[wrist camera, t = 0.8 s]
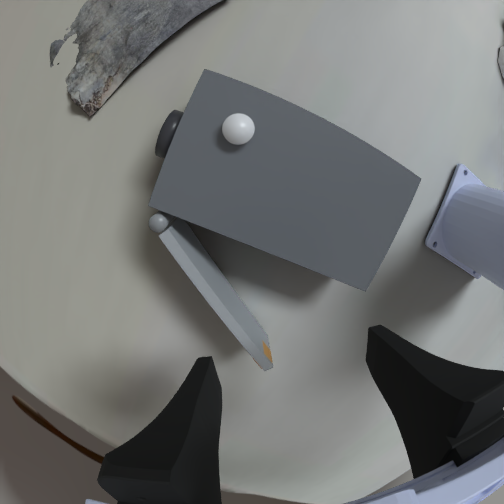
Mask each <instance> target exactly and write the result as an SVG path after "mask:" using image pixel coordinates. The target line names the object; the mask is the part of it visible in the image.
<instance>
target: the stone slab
mask: <svg viewBox="0 0 504 504" xmlns="http://www.w3.org/2000/svg"><path fill="white" fill-rule="evenodd" d="M220 1H222V0H88V1H87V2H86V3H85V4H84V5H83V7H82V8H81V9H80V12H79V14H78V16H77V17H76V19H75V21H74V22H73V23H72V25H71V27H70V28H71V31H70V32H69V33H68V34H66V35H65V36H64V41H66V40H67V38H69V37H70V36H72V35H73V34H76V33H77V38H76V40H75V41H74V42H73V43H77V44H79V47H78V49H79V53H78V55H77V58H76V63H77V64H76V65H75V66H74V68H73V69H72V71H71V73H70V74H69V75H68V76H67V78H66V83H67V85H68V86H67V88H68V92H69V93H70V95H71V96H70V97H71V99H72V100H73V101H74V102H75V103H76V104H77V105H79V106H80V107H81V108H82V109H83V110H84V111H85V112H86V113H87V114H88V116H90V117H91V116H92V115H93V114H94V113H95V112H96V110H97V109H98V108H100V107H101V106H102V105H103V104H104V102H105V101H106V100H107V99H108V98H109V97H110V95H111V94H112V93H113V92H114V91H115V90H116V89H117V88H118V86H119V85H120V84H121V83H122V82H123V81H124V79H125V78H126V77H127V76H128V74H129V73H130V72H131V71H132V70H133V69H134V68H135V67H137V66H138V65H139V64H141V63H142V62H143V60H144V59H146V58H147V56H148V55H149V54H150V53H151V52H152V51H153V50H154V49H155V48H156V47H157V46H159V45H160V44H161V43H162V42H163V41H165V40H166V39H167V38H168V37H170V36H171V35H172V34H173V33H175V32H176V31H177V30H179V29H180V28H181V27H183V26H184V25H185V24H186V23H187V22H189V21H190V20H191V19H193V18H194V17H196V16H197V15H199V14H200V13H202V12H203V11H205V10H207V9H208V8H210V7H211V6H213V5H215V4H216V3H218V2H220ZM68 29H69V28H67V29H66V30H68ZM64 41H63V40H58V41H57V40H56V41H54V42H53V43H52V44H51V49H50V60H51V65H50V67H52V66H53V60H54V58H55V57H56V55H57V54H58V52H59V50H60V48H61V46H62V45H63V44H64ZM58 64H59V63H58ZM58 64H57V65H58Z"/></svg>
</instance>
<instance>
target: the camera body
mask: <svg viewBox="0 0 504 504" xmlns="http://www.w3.org/2000/svg"><path fill="white" fill-rule="evenodd" d="M155 154H156V156H159V157H162V158H164V159H165V160H164V162H163V165H162V168H161V170H160V173H159V176H158V179H157V181H156V184H155V187H154V190H153V193H152V196H151V199H150V202H149V205H148V206H150V207H153V208H155V209H158V210H160V211H163V212H166V213H168V214H171V215H173V216H176V217H178V218H181V219H183V220H186V221H189V222H191V223H194V224H196V225H199V226H201V227H204V228H206V229H209V230H212V231H214V232H217V233H219V234H222V235H224V236H227V237H229V238H232V239H234V240H237V241H240V242H242V243H245V244H247V245H250V246H252V247H255V248H257V249H260V250H262V251H265V252H267V253H270V254H272V255H275V256H277V257H280V258H283V259H285V260H288V261H290V262H293V263H295V264H298V265H300V266H303V267H305V268H308V269H310V270H313V271H315V272H318V273H320V274H323V275H325V276H328V277H330V278H333V279H335V280H338V281H340V282H343V283H345V284H348V285H350V286H353V287H355V288H358V289H360V290H363V291H365V292H366V290H367V288H368V287H369V285H370V283H371V281H372V279H373V278H374V276H375V274H376V272H377V270H378V269H379V267H380V265H381V263H382V261H383V259H384V257H385V255H386V254H387V252H388V250H389V248H390V246H391V244H392V242H393V240H394V238H395V236H396V234H397V232H398V230H399V228H400V226H401V223H402V221H403V219H404V217H405V215H406V213H407V211H408V208H409V206H410V204H411V202H412V200H413V197H414V195H415V193H416V190H417V188H418V186H419V183H420V181H421V178H420V177H418V176H417V175H415V174H414V173H413V172H411V171H410V170H408V169H407V168H405V167H404V166H402V165H401V164H399V163H398V162H396V161H395V160H393V159H392V158H390V157H389V156H387V155H386V154H384V153H383V152H381V151H379V150H378V149H376V148H374V147H373V146H371V145H370V144H368V143H366V142H365V141H363V140H361V139H359V138H358V137H356V136H354V135H353V134H351V133H349V132H347V131H346V130H344V129H342V128H340V127H338V126H336V125H335V124H333V123H331V122H329V121H327V120H325V119H323V118H321V117H319V116H317V115H315V114H313V113H311V112H309V111H307V110H305V109H303V108H301V107H299V106H297V105H295V104H293V103H290V102H288V101H286V100H284V99H282V98H279V97H277V96H275V95H273V94H270V93H268V92H266V91H263V90H261V89H258V88H256V87H253V86H251V85H248V84H246V83H243V82H241V81H238V80H235V79H233V78H230V77H227V76H224V75H221V74H219V73H216V72H213V71H210V70H207V69H204V71H203V73H202V75H201V77H200V79H199V81H198V83H197V85H196V87H195V89H194V92H193V94H192V96H191V98H190V100H189V102H188V105H187V107H186V109H185V111H184V113H183V112H180V111H177V110H173V111H172V112H171V113H170V114H169V116H168V117H167V119H166V120H165V122H164V124H163V126H162V128H161V131H160V133H159V136H158V139H157V143H156V148H155Z"/></svg>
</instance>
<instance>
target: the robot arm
mask: <svg viewBox="0 0 504 504" xmlns="http://www.w3.org/2000/svg"><path fill="white" fill-rule="evenodd" d="M464 171H465V174H464ZM434 242H435V244H434V246H433V243H434ZM425 244H426V246H427V247H429V248H430V249H432V250H434V251H435V252H437V253H438V254H440V255H442V256H443V257H445V258H446V259H448V260H449V261H451V262H452V263H454V264H456V265H457V266H459V267H460V268H462V269H463V270H465V271H466V272H468V273H469V274H471V275H472V276H473V277H475V278H476V279H479V278H480V277H481V275H482V276H483V277H485V278H486V279H488V280H490V281H491V282H493V283H494V284H496V285H497V286H499V287H500V288H502V289H503V290H504V191H501V190H498V189H494V188H490V187H486V186H485V185H484V184H483V183H482V182H481V181H480V180H479V179H478V178H477V177H476V176H475V175H474V174H473V173H472V172H471V171H470V170H469V169H468V168H467V167H466V166H465V165H463V164H458V165H457V167H456V169H455V172H454V175H453V177H452V180H451V183H450V185H449V188H448V190H447V193H446V195H445V198H444V200H443V202H442V205H441V207H440V209H439V212H438V214H437V216H436V218H435V221H434V223H433V225H432V227H431V229H430V231H429V233H428V236H427V238H426V240H425ZM473 270H474V271H473ZM366 362H367V365H368V368H369V370H370V373H371V375H372V377H373V379H374V381H375V383H376V385H377V386H378V388H379V390H380V392H381V393H382V395H383V397H384V399H385V401H386V402H387V404H388V406H389V408H390V409H391V411H392V413H393V415H394V417H395V420H396V422H397V425H398V427H399V430H400V433H401V436H402V438H403V441H404V444H405V447H406V451H407V454H408V458H409V461H410V465H411V469H412V473H413V478H414V479H413V480H411V481H409V482H406V483H404V484H401V485H399V486H396V487H393V488H391V489H388V490H385V491H383V492H380V493H377V494H374V495H371V496H368V497H365V498H361V499H358V500H355V501H351V502H348V503H344V504H478V503H479V502H481V501H482V500H484V499H485V498H486V497H487V496H489V495H490V494H492V493H493V492H494V491H496V490H497V489H498V488H500V487H501V486H502V485H504V410H503V407H504V371H500V370H486V369H480V368H474V367H469V366H465V365H461V364H457V363H454V362H451V361H448V360H445V359H443V358H440V357H438V356H435V355H433V354H431V353H429V352H427V351H425V350H423V349H421V348H419V347H417V346H415V345H413V344H412V343H410V342H408V341H406V340H405V339H403V338H401V337H400V336H398V335H397V334H395V333H393V332H392V331H390V330H389V329H387V328H385V327H384V326H382V325H377V326H373V327H369V329H368V342H367V353H366ZM221 414H222V389H221V384H220V381H219V378H218V375H217V372H216V369H215V365H214V362H213V359H212V356H209V357H200V358H198V359H197V360H196V362H195V364H194V366H193V367H192V369H191V371H190V372H189V374H188V376H187V377H186V379H185V381H184V382H183V384H182V385H181V387H180V388H179V390H178V391H177V393H176V394H175V395H174V397H173V398H172V399H171V401H170V402H169V403H168V405H167V406H166V407H165V408H164V409H163V411H162V412H161V413H160V414H159V415H158V416H157V417H156V418H155V419H154V420H153V421H152V422H151V423H150V424H149V425H148V426H147V427H146V428H144V429H143V430H142V431H141V432H140V433H138V434H137V435H136V436H135V437H133V438H132V439H130V440H129V441H128V442H126V443H124V444H123V445H121V446H120V447H118V448H116V449H114V450H113V451H111V452H109V453H107V454H106V455H105V457H104V460H103V462H102V466H101V469H100V472H99V476H98V479H97V480H98V483H99V485H100V486H101V487H102V488H103V489H104V490H105V491H106V492H108V493H109V494H110V495H111V496H112V497H114V498H115V499H116V500H117V501H118V503H117V504H222V502H221V492H220V478H219V456H218V450H219V436H220V425H221ZM85 504H108V503H104V502H100V501H95V500H91V499H86V502H85Z"/></svg>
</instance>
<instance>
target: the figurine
mask: <svg viewBox="0 0 504 504" xmlns="http://www.w3.org/2000/svg"><path fill="white" fill-rule="evenodd" d="M498 63H499V66H500V69H501V73H502V76H503V78H504V46H502V47H500V52H499V58H498Z"/></svg>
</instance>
